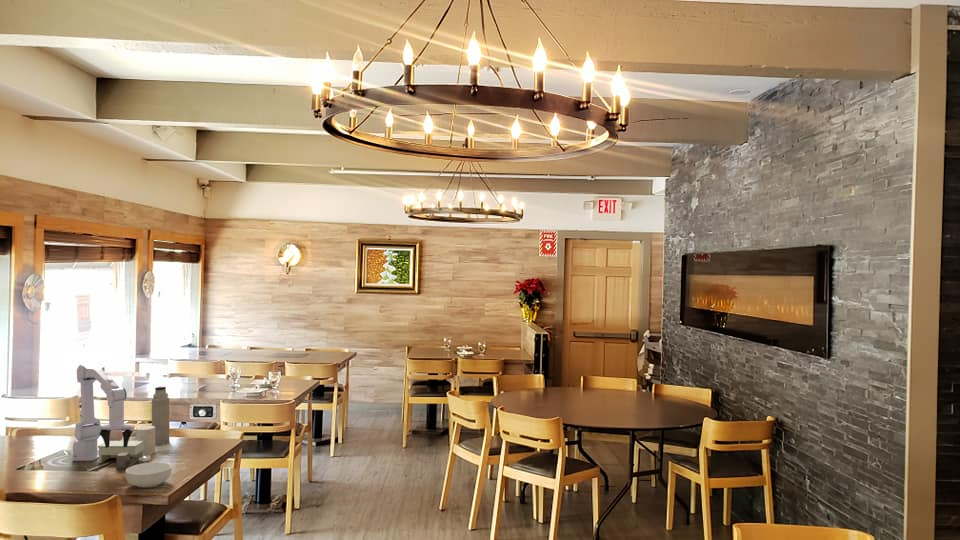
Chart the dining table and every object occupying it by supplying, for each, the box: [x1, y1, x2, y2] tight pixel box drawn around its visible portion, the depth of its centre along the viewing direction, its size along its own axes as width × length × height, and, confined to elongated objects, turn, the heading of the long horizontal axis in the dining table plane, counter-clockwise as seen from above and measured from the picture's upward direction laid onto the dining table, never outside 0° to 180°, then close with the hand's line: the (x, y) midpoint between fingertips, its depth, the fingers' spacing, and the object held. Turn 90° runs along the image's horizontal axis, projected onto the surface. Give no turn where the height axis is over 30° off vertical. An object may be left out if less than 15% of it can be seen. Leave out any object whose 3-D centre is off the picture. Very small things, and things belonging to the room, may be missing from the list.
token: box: [137, 454, 151, 464], centre depth 320 cm, size 5×5×2 cm
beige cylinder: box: [135, 425, 156, 455], centre depth 334 cm, size 8×8×12 cm
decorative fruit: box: [110, 430, 123, 441], centre depth 346 cm, size 9×8×10 cm
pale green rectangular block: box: [97, 440, 145, 464], centre depth 322 cm, size 17×10×8 cm, turn 93°
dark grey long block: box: [116, 453, 138, 470], centre depth 315 cm, size 4×16×6 cm, turn 3°
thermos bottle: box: [151, 386, 170, 446], centre depth 352 cm, size 8×8×28 cm
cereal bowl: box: [125, 461, 173, 488], centre depth 286 cm, size 17×17×7 cm
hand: (116, 446), depth 308 cm, fingers open, 7 cm apart
